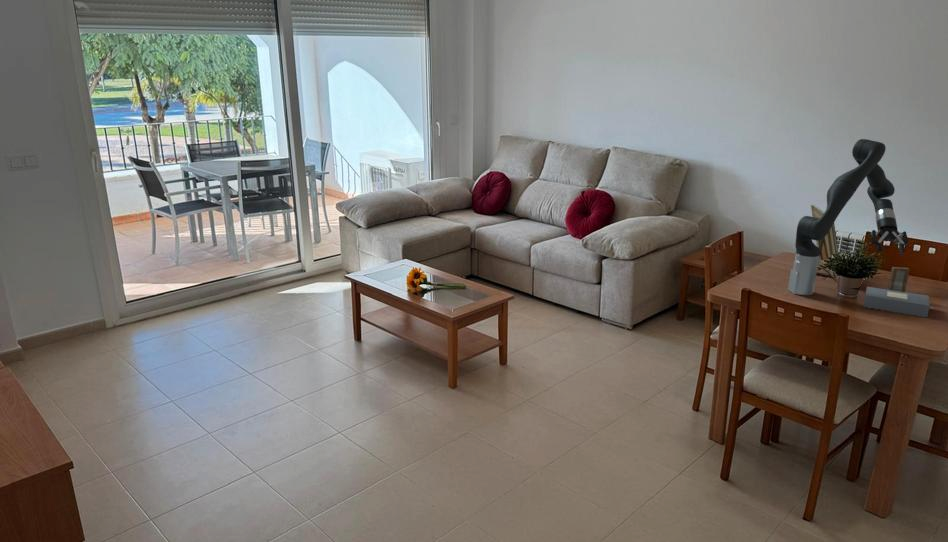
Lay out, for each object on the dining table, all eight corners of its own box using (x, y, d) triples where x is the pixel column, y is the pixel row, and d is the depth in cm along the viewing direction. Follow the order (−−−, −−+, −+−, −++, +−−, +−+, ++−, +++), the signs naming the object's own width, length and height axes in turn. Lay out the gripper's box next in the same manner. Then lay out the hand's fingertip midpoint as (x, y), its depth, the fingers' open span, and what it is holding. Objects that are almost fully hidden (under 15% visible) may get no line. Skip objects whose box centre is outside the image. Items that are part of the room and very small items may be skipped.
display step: (863, 307, 277) (865, 295, 276) (864, 297, 289) (867, 286, 287) (927, 317, 266) (929, 305, 265) (926, 307, 278) (928, 295, 276)
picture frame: (842, 285, 305) (854, 219, 296) (818, 283, 307) (829, 218, 298) (822, 265, 336) (832, 205, 327) (800, 263, 338) (810, 204, 329)
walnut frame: (884, 294, 293) (890, 265, 289) (899, 295, 292) (905, 266, 288) (890, 299, 287) (896, 269, 284) (905, 299, 286) (911, 270, 283)
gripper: (872, 215, 301) (877, 247, 294) (907, 217, 299) (913, 248, 291) (865, 224, 308) (870, 255, 300) (899, 226, 305) (905, 257, 298)
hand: (891, 252), depth 296 cm, fingers open, 8 cm apart
